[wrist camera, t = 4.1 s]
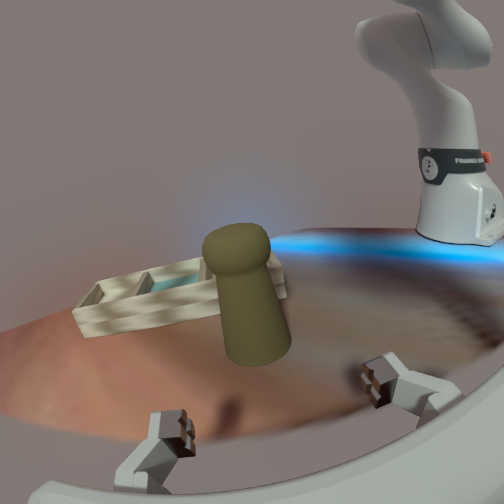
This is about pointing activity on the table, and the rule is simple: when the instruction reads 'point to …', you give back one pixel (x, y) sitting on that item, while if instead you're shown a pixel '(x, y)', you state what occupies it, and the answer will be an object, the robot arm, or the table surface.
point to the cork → (246, 294)
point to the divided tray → (156, 298)
